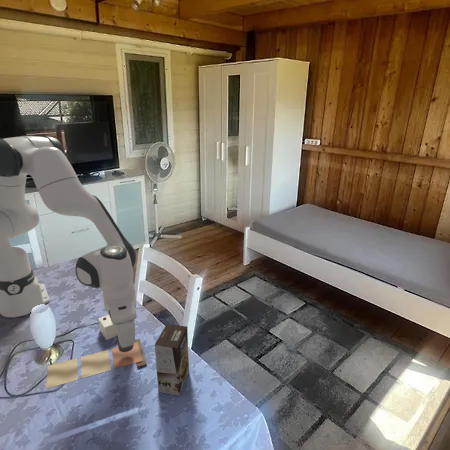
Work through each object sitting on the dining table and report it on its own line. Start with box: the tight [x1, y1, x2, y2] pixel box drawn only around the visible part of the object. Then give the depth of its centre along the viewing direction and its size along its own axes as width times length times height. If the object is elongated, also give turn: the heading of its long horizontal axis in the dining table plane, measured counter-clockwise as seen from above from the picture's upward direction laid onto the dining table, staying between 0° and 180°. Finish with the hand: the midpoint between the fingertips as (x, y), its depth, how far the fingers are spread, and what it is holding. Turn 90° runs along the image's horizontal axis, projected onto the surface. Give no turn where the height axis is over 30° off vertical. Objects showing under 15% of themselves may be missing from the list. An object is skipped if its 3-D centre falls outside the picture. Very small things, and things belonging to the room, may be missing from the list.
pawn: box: [116, 335, 134, 352], centre depth 99 cm, size 4×4×8 cm
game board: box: [45, 338, 148, 390], centre depth 98 cm, size 12×28×1 cm, turn 114°
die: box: [98, 314, 117, 341], centre depth 110 cm, size 6×6×6 cm
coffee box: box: [154, 323, 190, 397], centre depth 90 cm, size 9×6×16 cm
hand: (125, 339), depth 99 cm, fingers closed on pawn, 4 cm apart
